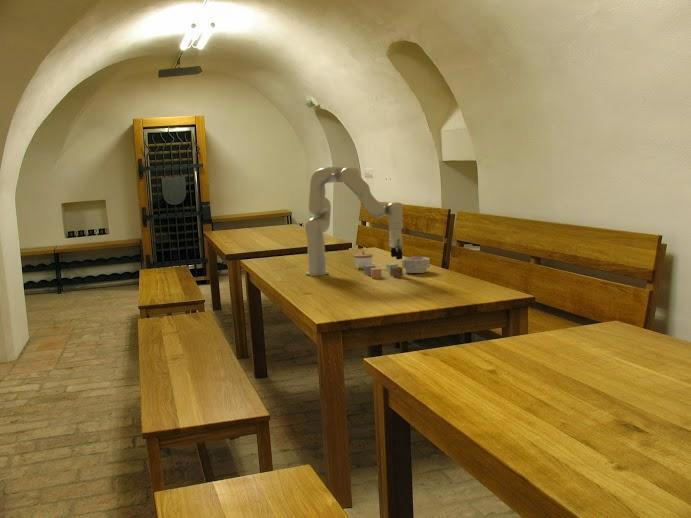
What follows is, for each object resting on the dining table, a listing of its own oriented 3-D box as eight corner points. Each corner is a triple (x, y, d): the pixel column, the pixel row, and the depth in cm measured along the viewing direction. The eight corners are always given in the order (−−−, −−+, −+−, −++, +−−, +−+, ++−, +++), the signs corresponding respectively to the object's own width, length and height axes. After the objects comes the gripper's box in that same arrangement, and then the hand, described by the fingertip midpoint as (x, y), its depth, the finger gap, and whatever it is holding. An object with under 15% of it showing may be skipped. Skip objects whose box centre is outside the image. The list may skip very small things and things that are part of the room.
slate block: (363, 274, 389) (363, 265, 388) (371, 273, 391) (371, 264, 390) (367, 275, 384) (366, 266, 384) (375, 274, 386) (375, 265, 386)
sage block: (386, 272, 392) (386, 263, 391) (395, 271, 393) (394, 262, 393) (389, 274, 387) (389, 264, 386) (398, 273, 389) (398, 264, 388)
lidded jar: (376, 267, 411) (375, 251, 410) (366, 270, 402) (366, 253, 401) (360, 265, 417) (360, 250, 415) (350, 268, 408) (350, 252, 406)
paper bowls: (422, 269, 398) (422, 255, 397) (434, 273, 384) (434, 259, 382) (397, 271, 393) (397, 257, 392) (408, 276, 379) (408, 261, 378)
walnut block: (391, 276, 380) (390, 267, 380) (400, 275, 381) (399, 266, 381) (393, 277, 376) (393, 268, 375) (402, 277, 377) (402, 267, 376)
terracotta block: (371, 277, 380) (370, 267, 379) (380, 276, 380) (380, 267, 379) (372, 278, 375) (371, 269, 374) (381, 278, 375) (381, 269, 374)
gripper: (384, 224, 382) (385, 256, 385) (393, 228, 365) (394, 260, 368) (397, 224, 383) (398, 255, 386) (407, 227, 367) (408, 259, 369)
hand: (396, 257), depth 377 cm, fingers open, 9 cm apart
